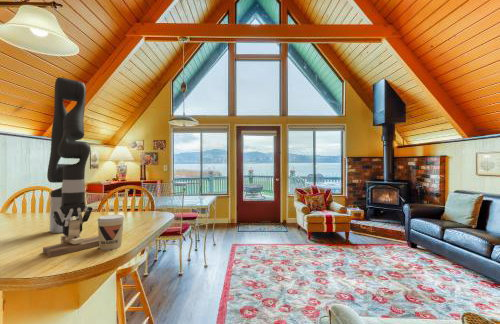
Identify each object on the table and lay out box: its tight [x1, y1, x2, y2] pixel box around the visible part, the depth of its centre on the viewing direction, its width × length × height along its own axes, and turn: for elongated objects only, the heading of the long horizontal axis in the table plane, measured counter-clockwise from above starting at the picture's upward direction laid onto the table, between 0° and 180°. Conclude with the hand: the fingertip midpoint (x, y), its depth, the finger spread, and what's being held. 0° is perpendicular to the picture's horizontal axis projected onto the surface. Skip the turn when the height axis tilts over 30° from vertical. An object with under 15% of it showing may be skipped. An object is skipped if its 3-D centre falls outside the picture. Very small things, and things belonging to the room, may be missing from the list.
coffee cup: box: [97, 214, 125, 251], centre depth 99 cm, size 9×9×12 cm
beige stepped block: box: [60, 218, 84, 244], centre depth 97 cm, size 9×5×10 cm, turn 57°
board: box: [42, 235, 99, 258], centre depth 97 cm, size 8×20×2 cm, turn 146°
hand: (72, 234), depth 97 cm, fingers closed on beige stepped block, 3 cm apart
